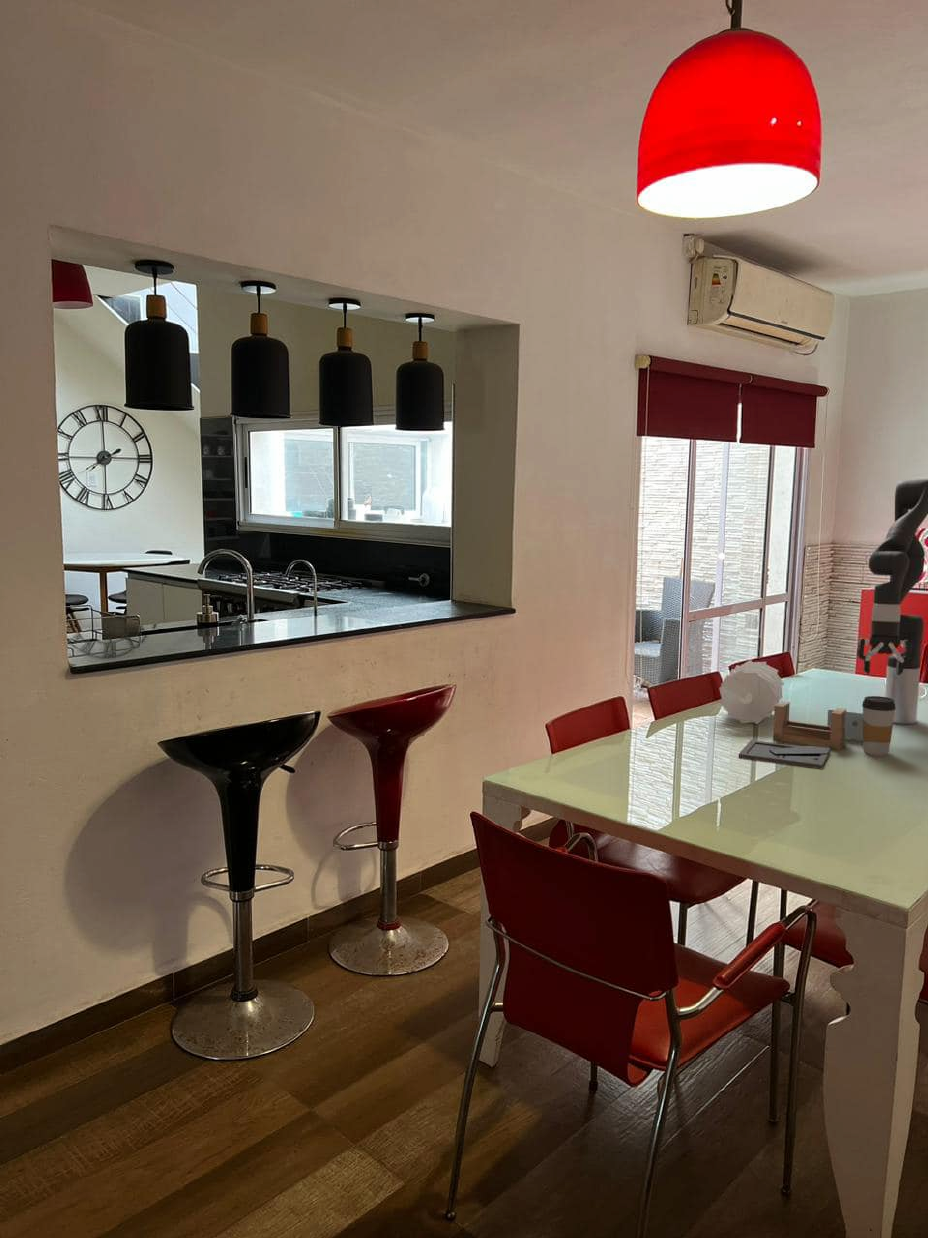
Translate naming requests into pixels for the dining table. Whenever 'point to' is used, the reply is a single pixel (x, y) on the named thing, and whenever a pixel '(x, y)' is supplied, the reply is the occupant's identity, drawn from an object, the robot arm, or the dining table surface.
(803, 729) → the track
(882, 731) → the coffee cup
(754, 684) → the spiral staircase
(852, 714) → the door panel
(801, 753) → the picture frame
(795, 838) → the dining table surface
